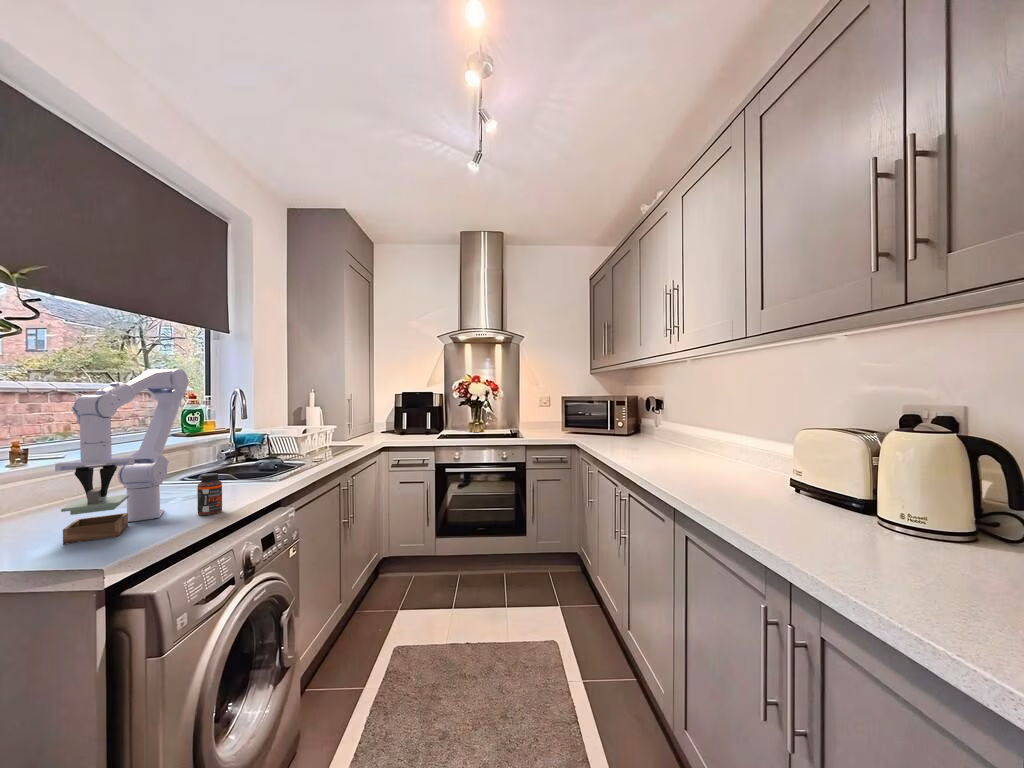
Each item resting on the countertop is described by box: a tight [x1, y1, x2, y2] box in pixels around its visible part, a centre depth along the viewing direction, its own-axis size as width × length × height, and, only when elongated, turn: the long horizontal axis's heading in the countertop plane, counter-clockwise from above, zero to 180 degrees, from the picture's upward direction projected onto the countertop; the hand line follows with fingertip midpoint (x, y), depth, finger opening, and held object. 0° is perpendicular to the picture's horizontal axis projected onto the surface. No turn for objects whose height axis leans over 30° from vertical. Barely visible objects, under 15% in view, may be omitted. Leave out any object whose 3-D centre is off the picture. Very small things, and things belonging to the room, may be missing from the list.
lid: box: [60, 486, 129, 516], centre depth 112 cm, size 10×10×5 cm
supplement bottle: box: [196, 472, 223, 516], centre depth 130 cm, size 6×6×11 cm
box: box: [62, 512, 129, 545], centre depth 112 cm, size 10×10×4 cm
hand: (97, 496), depth 112 cm, fingers closed on lid
